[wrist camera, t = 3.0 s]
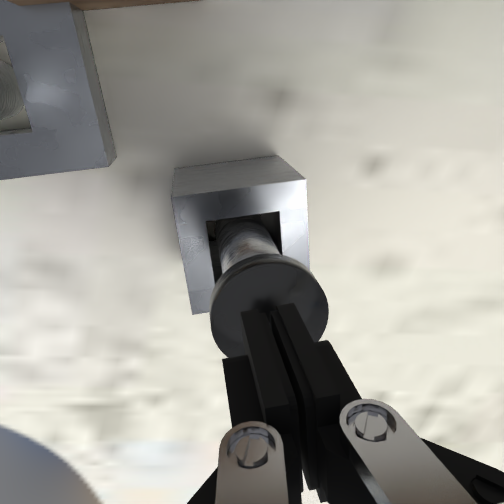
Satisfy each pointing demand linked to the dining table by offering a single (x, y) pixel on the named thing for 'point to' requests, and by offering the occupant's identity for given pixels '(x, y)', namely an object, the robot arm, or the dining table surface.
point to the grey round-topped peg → (9, 92)
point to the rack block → (98, 3)
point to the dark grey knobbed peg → (259, 283)
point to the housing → (236, 214)
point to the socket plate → (53, 93)
